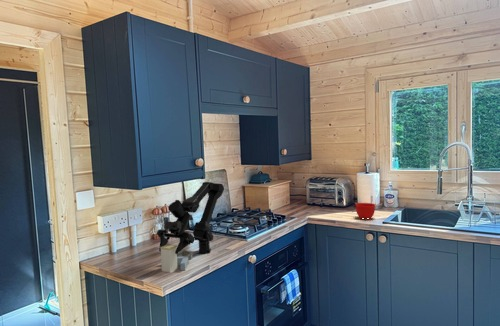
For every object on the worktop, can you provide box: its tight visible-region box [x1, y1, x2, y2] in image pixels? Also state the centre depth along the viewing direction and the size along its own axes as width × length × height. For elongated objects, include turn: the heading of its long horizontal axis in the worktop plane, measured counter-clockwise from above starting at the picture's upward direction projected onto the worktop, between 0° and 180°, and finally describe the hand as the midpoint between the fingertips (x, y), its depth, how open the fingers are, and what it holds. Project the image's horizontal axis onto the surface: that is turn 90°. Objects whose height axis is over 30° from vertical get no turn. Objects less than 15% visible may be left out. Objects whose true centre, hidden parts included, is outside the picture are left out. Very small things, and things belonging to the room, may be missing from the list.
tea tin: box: [159, 243, 178, 273], centre depth 164 cm, size 5×5×11 cm
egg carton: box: [177, 248, 194, 260], centre depth 177 cm, size 11×8×4 cm
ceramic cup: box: [355, 202, 376, 220], centre depth 253 cm, size 13×17×10 cm
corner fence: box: [177, 256, 189, 272], centre depth 167 cm, size 10×12×4 cm
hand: (167, 252), depth 163 cm, fingers open, 9 cm apart
